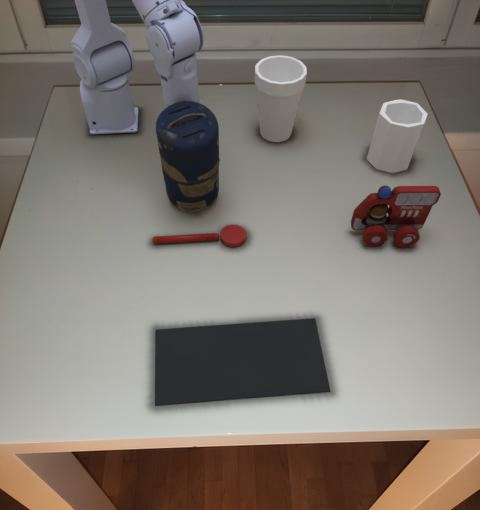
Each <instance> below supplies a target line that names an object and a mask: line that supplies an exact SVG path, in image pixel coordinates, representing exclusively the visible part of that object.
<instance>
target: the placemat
mask: <svg viewBox="0 0 480 510" xmlns="http://www.w3.org/2000/svg"><path fill="white" fill-rule="evenodd" d="M154 337H155V338H154V339H155V342H154V345H155V347H154V406H155V407H157V406H168V405H169V406H170V405H181V404H192V403H193V404H194V403H207V402H218V401H219V402H220V401H232V400H245V399H255V398H256V399H257V398H270V397H282V396H293V395H305V394H306V395H307V394H320V393H330V392H331V387H330V382H329V377H328V372H327V367H326V363H325V358H324V353H323V348H322V343H321V340H320V334H319V331H318V324H317V321H316V317H313V318H299V319H297V318H296V319H283V320H270V321H255V322H242V323H230V324H228V323H227V324H214V325H200V326H199V325H198V326H187V327H173V328H172V327H171V328H158V329H155V334H154Z"/></svg>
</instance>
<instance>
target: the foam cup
mask: <svg viewBox="0 0 480 510" xmlns="http://www.w3.org/2000/svg"><path fill="white" fill-rule="evenodd" d="M254 70H255V71H254V85H255V91H256V102H257V103H256V104H257V111H258V123H259V124H258V125H259V132H260V135H261V137H262V138H263V139H264V140H266V141H268V142H272V143H280V142H281V143H282V142H284V141H287V140H289V138H290V137H291V136H292V133H293V130H294V125H295V121H296V118H297V113H298V110H299V107H300V103H301V99H302V95H303V92H304V88H305V87H306V82H307V74H308V71H307V66H306V64H305V63H304V62H302V61H301V60H300V59H298V58H295V57H293V56H289V55H281V54H280V55H278V54H277V55H270V56H266V57H264V58H262V59H260V60H259V61H258V62H257V63H256V64H255V67H254Z"/></svg>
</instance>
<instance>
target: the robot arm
mask: <svg viewBox="0 0 480 510" xmlns="http://www.w3.org/2000/svg"><path fill="white" fill-rule="evenodd" d="M131 2H132V3H133V6H134V7H135V9H136V11H137V12H138V14H139V16H140V18H141V20H142V22H143V24H144V26H145V28H146V29H147V31H146V36H145V40H146V44H147V46H148V50H149V51H150V54H151V57H152V58H153V63H154V68H155V70H156V72H157V73H158V74H159V78H160V79H159V80H160V86H161V93H162V101H163V107H164V108H163V110H164V109H165V108H166V107H168V106H170V105H172V104H174V103H177V102H181V101H193V102H197V103H200V90H199V76H198V62H197V61H198V60H197V53H198V52H200V51H201V50H202V49H203V47H204V43H205V41H204V40H205V39H204V37H205V36H204V31H203V27H202V24H201V22H200V20H199V17H198V15H197V14H196V12H195V11H194V10H192V8H190V7H189V6H188V5H187V4H186V2H185V1H184V0H131ZM74 4H75V7H76V10H77V14H78V17H79V21H80V24H81V25H80V27H79V28H78V30H77V31H76V33H75V35H74V36H73V37H72V39H71V41H70V44H71V50H72V55H73V65H74V68H75V71H76V73H77V76H78V77H79V78H80V82H79V95H80V101H81V105H82V108H83V111H84V115H85V118H86V122H87V125H88V128H89V134H90V135H110V134H128V133H137V132H138V129H139V128H138V127H139V126H138V125H139V108H138V107H134V102H133V96H132V92H131V87H130V81H129V80H130V79H131V78H132V73H131V72H133V71H134V70H135V64H136V61H135V60H136V58H135V55H134V52H133V48H132V47H131V45H130V43H129V40H128V37H127V34H126V32H125V31H124V29H123V28H121V27H120V26H118V25H117V24H115V23H113V22H112V21H111V17H110V14H109V9H108V4H107V0H74Z"/></svg>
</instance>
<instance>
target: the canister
mask: <svg viewBox="0 0 480 510" xmlns="http://www.w3.org/2000/svg"><path fill="white" fill-rule="evenodd" d="M155 134H156V141H157V146H158V152H159V157H160V158H159V159H160V165H161V170H162V176H163V180H164V184H165V194H166V196H167V198H168V200H169V202H170V203H171V204H172V205H173V206H174V207H177V209H179V210H181V211H185V212H191V213H192V212H194V213H196V212H200V211H204V210H206V209H207V208H209V207H210V206H212V205H213V203H215V201H216V200H217V198H218V195H219V191H220V162H221V159H220V128H219V122H218V119H217V117H216V115H215V113H214V112H213V111H212V110H211V109H210V108H209V107H207V106H206V105H204V104H202V103H200V102H199V103H197V102H193V101H181V102H177V103H174V104H172V105H170V106H168V107H166V108H165V109H164V108H163V109H162V111H161V112H160V113H159V114H158V116H157V118H156V121H155Z"/></svg>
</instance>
